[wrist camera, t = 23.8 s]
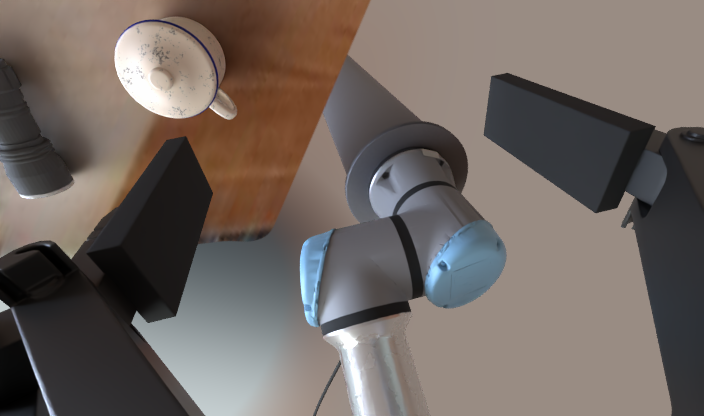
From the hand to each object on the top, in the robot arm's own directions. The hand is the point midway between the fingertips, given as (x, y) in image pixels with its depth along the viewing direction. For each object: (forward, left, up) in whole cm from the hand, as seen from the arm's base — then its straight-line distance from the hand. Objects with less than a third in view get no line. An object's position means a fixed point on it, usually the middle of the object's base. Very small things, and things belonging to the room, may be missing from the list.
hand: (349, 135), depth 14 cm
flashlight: (-4, +35, -32) cm, 47 cm away
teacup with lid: (-1, +13, -32) cm, 34 cm away
